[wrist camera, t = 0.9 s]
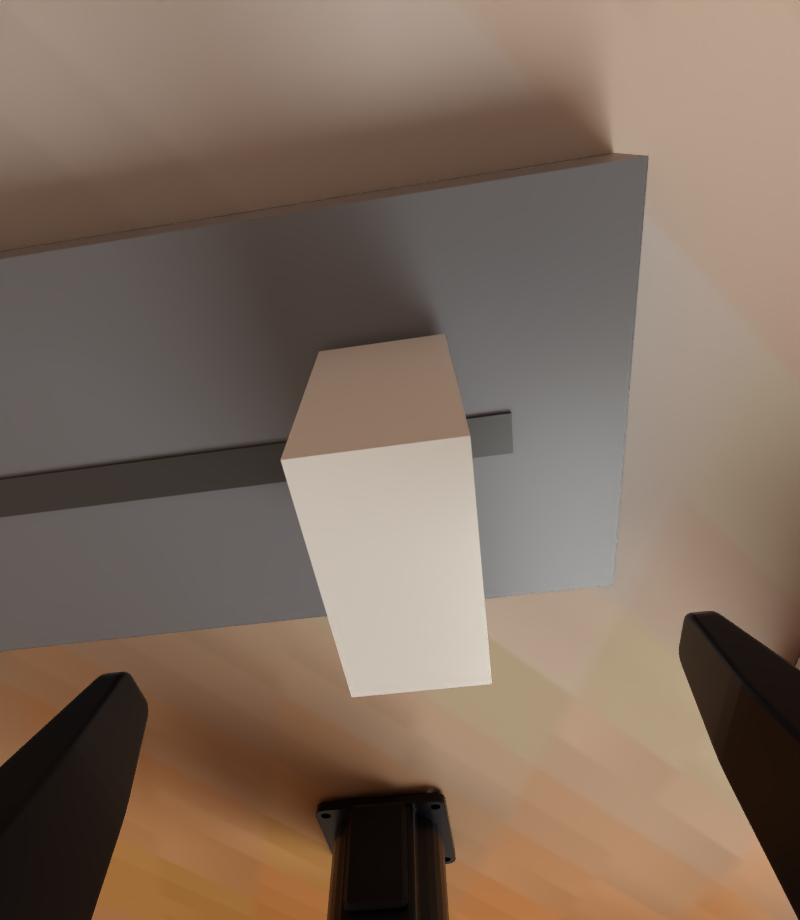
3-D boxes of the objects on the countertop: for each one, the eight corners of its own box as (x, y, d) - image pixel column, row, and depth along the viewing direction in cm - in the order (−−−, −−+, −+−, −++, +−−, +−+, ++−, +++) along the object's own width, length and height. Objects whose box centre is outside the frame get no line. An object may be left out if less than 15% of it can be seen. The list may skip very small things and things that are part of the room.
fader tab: (465, 533, 16) (491, 683, 11) (363, 545, 16) (351, 697, 12) (445, 333, 13) (470, 435, 8) (318, 351, 13) (280, 460, 9)
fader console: (593, 544, 19) (614, 587, 17) (-194, 633, 21) (-250, 680, 19) (614, 153, 13) (650, 155, 11) (-503, 332, 15) (-628, 359, 13)
